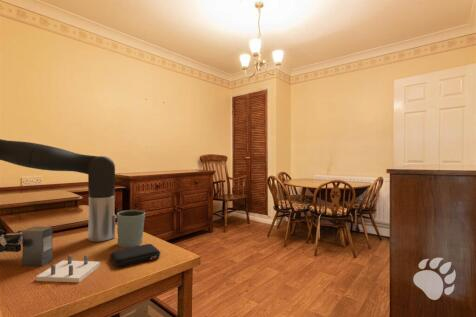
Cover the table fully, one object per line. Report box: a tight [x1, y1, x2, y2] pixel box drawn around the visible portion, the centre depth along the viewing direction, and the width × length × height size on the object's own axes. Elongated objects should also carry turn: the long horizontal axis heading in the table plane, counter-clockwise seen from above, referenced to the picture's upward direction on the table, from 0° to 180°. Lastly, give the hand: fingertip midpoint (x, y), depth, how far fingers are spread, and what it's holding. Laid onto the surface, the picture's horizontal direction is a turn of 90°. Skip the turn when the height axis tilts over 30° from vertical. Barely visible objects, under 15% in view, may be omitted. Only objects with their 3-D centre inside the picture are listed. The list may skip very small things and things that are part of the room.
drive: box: [21, 226, 53, 268], centre depth 78 cm, size 4×6×11 cm
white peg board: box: [35, 254, 101, 283], centre depth 73 cm, size 10×12×4 cm
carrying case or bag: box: [109, 243, 161, 268], centre depth 83 cm, size 11×3×15 cm
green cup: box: [116, 209, 146, 248], centre depth 96 cm, size 10×10×12 cm
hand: (32, 242), depth 78 cm, fingers open, 8 cm apart
